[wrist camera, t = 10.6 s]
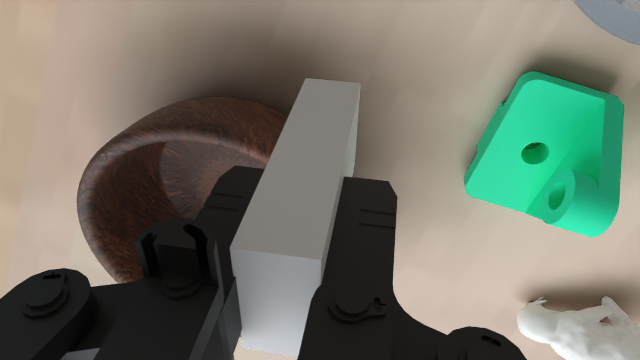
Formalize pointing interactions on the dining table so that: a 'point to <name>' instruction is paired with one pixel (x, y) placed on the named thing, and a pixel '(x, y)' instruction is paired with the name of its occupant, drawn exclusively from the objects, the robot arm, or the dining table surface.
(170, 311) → the robot arm
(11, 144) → the dining table surface
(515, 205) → the camera mount
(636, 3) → the ring nut
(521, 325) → the white animal figurine
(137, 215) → the wooden bowl
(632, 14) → the base plate
